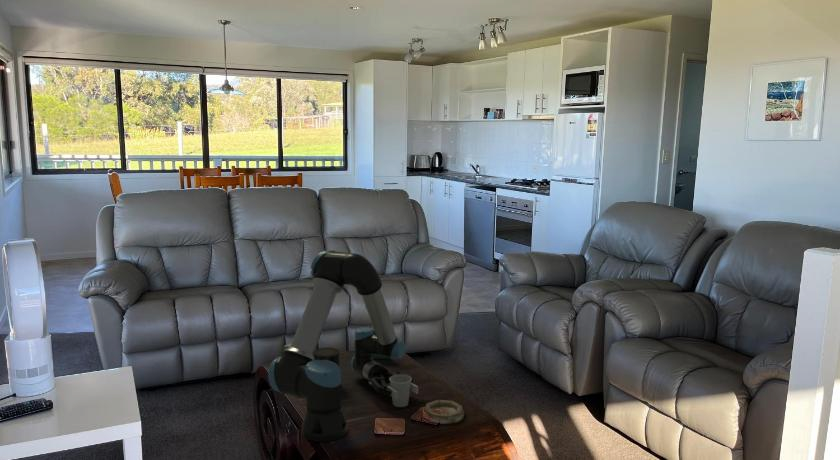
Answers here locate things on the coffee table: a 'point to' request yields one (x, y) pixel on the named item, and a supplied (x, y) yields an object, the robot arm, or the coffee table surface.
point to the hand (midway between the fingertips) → (407, 392)
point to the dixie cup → (401, 389)
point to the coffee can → (327, 355)
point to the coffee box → (378, 355)
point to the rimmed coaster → (451, 409)
